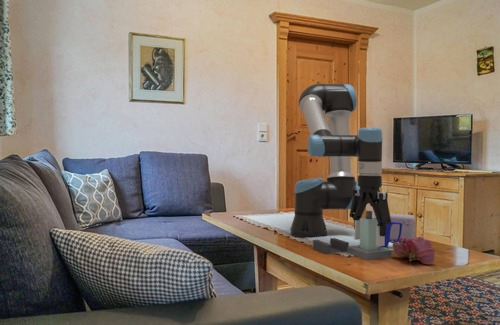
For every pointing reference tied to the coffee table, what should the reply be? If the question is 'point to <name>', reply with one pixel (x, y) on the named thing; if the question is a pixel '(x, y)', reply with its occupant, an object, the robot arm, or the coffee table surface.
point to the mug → (387, 236)
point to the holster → (331, 246)
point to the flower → (415, 249)
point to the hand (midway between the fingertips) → (368, 242)
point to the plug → (368, 232)
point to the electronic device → (407, 226)
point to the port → (369, 252)
